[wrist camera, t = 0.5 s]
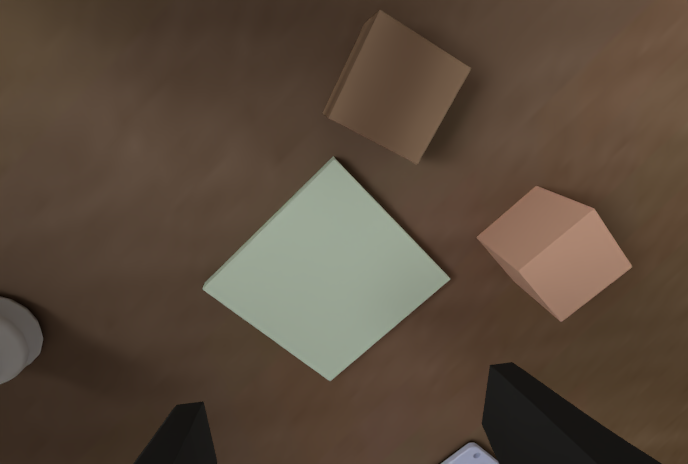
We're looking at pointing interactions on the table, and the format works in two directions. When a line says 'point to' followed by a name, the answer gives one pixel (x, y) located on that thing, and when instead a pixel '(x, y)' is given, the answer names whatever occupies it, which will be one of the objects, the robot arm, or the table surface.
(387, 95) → the walnut brick
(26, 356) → the rook chess piece
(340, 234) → the base tile
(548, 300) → the terracotta brick
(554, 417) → the robot arm
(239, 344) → the table surface
